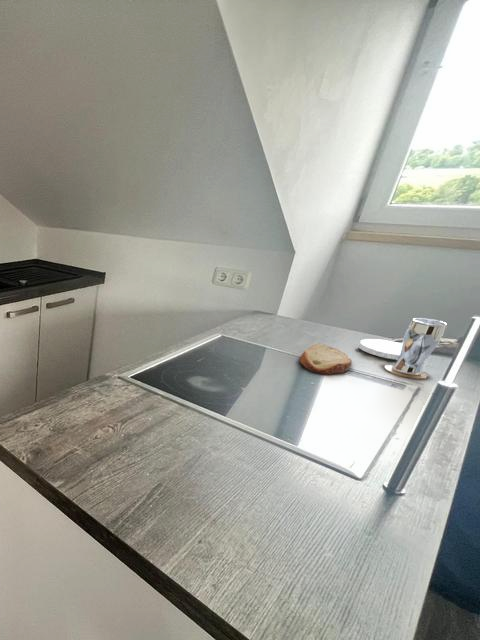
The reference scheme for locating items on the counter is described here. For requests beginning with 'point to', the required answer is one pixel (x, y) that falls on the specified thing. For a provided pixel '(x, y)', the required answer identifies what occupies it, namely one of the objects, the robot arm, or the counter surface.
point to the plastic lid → (381, 348)
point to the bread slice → (325, 360)
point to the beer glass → (418, 345)
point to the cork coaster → (389, 369)
